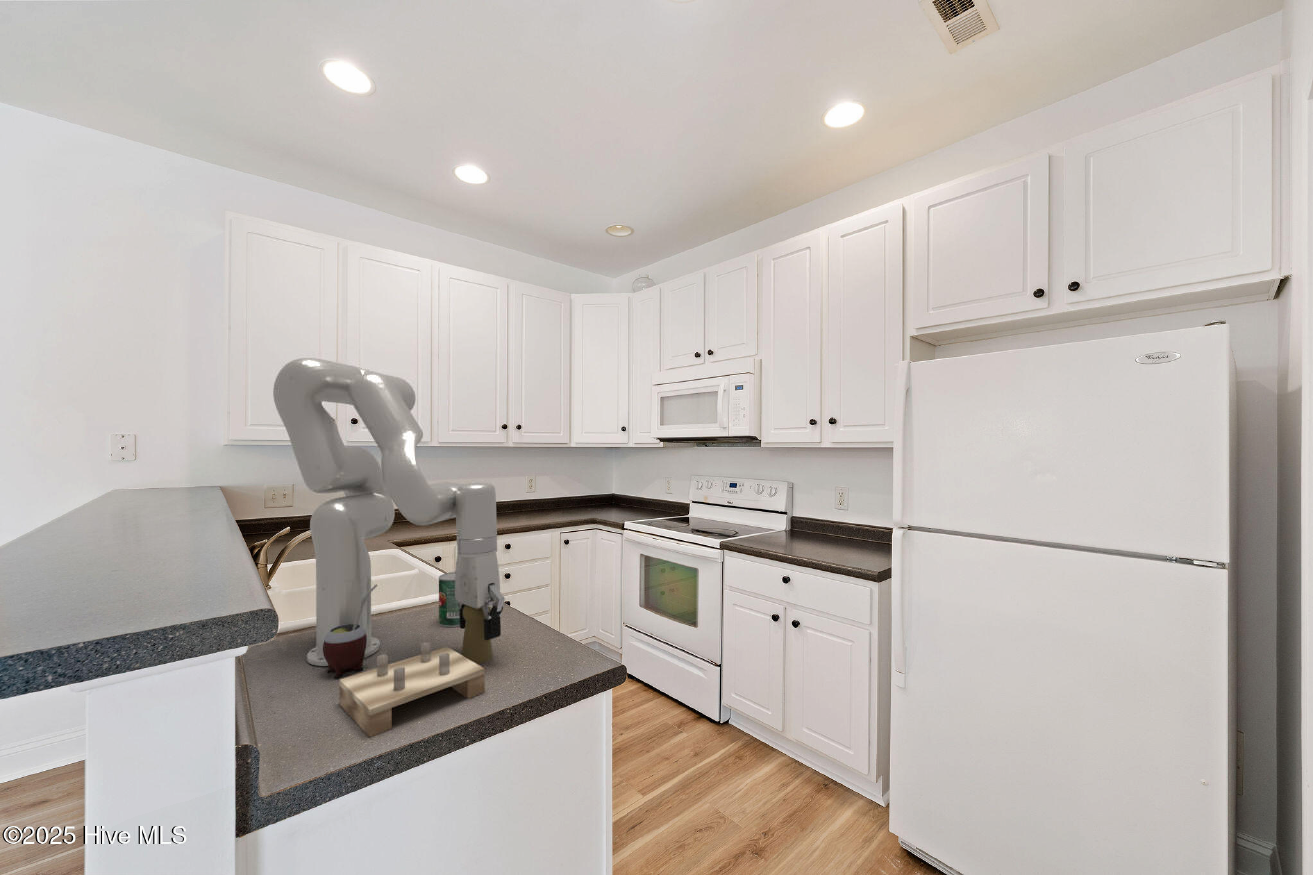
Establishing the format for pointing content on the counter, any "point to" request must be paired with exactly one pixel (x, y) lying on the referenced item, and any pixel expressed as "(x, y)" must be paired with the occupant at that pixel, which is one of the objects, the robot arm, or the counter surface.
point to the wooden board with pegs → (406, 685)
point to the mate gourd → (346, 646)
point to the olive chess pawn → (475, 636)
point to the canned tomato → (448, 601)
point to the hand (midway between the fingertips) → (479, 632)
